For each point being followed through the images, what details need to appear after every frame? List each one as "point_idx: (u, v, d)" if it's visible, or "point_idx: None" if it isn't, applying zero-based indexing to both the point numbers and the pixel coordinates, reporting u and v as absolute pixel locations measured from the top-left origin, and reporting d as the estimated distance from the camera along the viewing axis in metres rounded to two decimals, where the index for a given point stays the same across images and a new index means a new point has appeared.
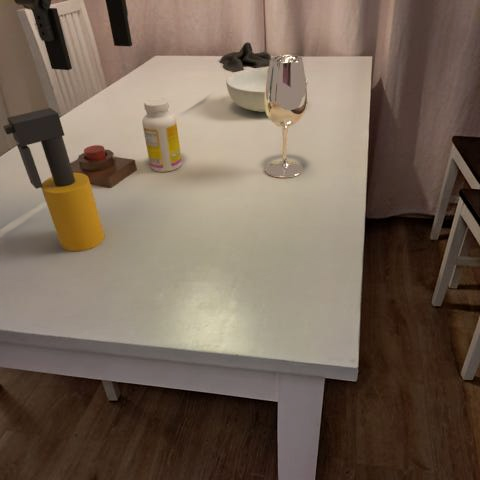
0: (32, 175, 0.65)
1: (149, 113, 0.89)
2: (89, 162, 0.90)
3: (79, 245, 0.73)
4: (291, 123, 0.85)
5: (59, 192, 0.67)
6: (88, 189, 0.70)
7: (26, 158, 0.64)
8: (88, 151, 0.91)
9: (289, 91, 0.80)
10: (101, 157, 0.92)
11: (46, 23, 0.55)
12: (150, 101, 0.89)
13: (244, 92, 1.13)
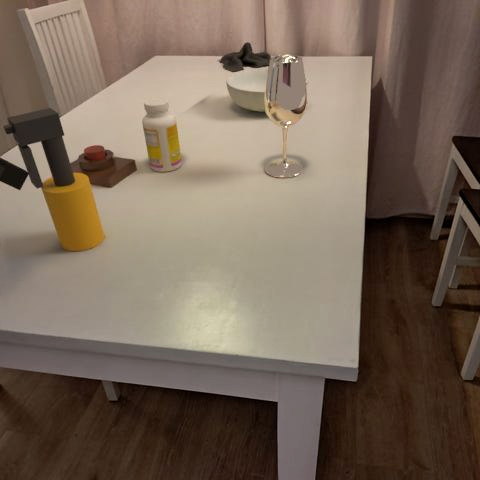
0: (33, 175, 0.65)
1: (149, 113, 0.89)
2: (89, 162, 0.90)
3: (79, 245, 0.73)
4: (291, 123, 0.85)
5: (59, 192, 0.67)
6: (88, 189, 0.70)
7: (27, 158, 0.64)
8: (88, 151, 0.91)
9: (289, 91, 0.80)
10: (101, 157, 0.92)
11: None
12: (150, 101, 0.89)
13: (244, 92, 1.13)
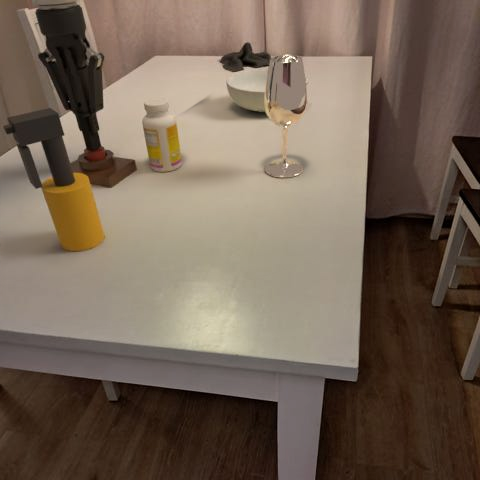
0: (32, 175, 0.65)
1: (149, 113, 0.89)
2: (89, 162, 0.90)
3: (79, 245, 0.73)
4: (291, 123, 0.85)
5: (59, 192, 0.67)
6: (88, 189, 0.70)
7: (26, 158, 0.64)
8: (88, 151, 0.91)
9: (289, 91, 0.80)
10: (101, 157, 0.92)
11: (78, 121, 0.89)
12: (150, 101, 0.89)
13: (244, 92, 1.13)
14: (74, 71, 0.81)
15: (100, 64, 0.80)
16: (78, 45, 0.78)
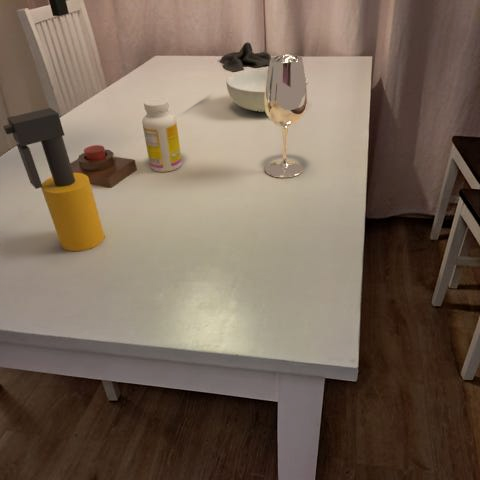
0: (32, 175, 0.65)
1: (149, 113, 0.89)
2: (89, 162, 0.90)
3: (79, 245, 0.73)
4: (291, 123, 0.85)
5: (59, 192, 0.67)
6: (88, 189, 0.70)
7: (26, 158, 0.64)
8: (88, 151, 0.91)
9: (289, 91, 0.80)
10: (101, 157, 0.92)
11: None
12: (150, 101, 0.89)
13: (244, 92, 1.13)
14: None
15: None
16: None
